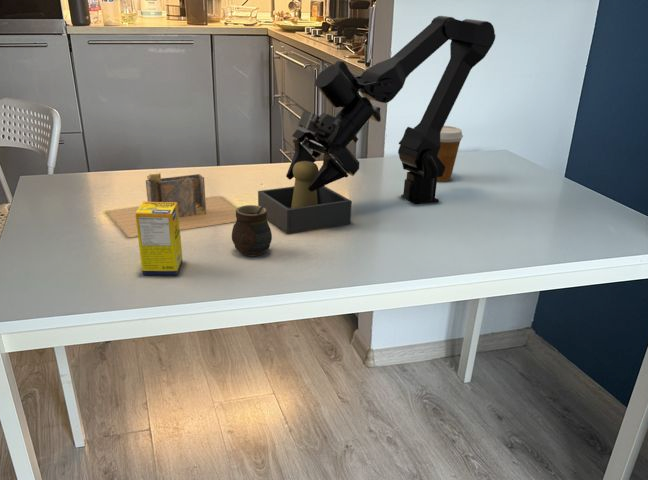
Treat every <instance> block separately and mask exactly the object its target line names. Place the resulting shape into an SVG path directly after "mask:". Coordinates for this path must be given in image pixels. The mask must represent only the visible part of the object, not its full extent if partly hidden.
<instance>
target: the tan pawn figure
mask: <svg viewBox="0 0 648 480" xmlns="http://www.w3.org/2000/svg"><path fill="white" fill-rule="evenodd" d="M319 170H320V169H319V166H318V165H317V164H316V162H314V163H313V162H309V161H301V162H297V163H296V164H295V165H294V166H293V175H294V177H293V178H294V185H293V186H294V192H293V199H292V206H291V208H297V207H304V206H311V205H318V199H317V190H314V191H312V192H311V191H309V190H308V186H309V185H310V183H311V181H312V180H313V178H314V177H315V176H316V174H317V173H318V171H319Z"/></svg>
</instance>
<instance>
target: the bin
mask: <svg viewBox="0 0 648 480" xmlns="http://www.w3.org/2000/svg"><path fill="white" fill-rule="evenodd" d="M293 192H294V185H293V186H286V187H278V188H269V189H262V190H258V191H257V206H261V207H262V205H264V204H265V206H264V208H265V209H266V210H267V217H266V219H267V221H268V222H270V223H271V224H273V226H275V227H277V228H278V229H280V230H281V231H282V232H284V233H285V234H287V235H289V234H295V233H301V232H307V231H313V230H319V229H326V228H331V227H338V226H345V225H348V224H351V223H352V222H351V220H352V219H351V218H352V205H353V204H352V200H351V199H349V198H347V197H345V196H343V195H341V194H340V193H338V192H336V191H335V190H333V189H331V188H328V187H327V186H326V185H325V186H323V187H321V188H319V189H317V199H318V205H311V206H304V207H297V208H291V206H292V199H293Z"/></svg>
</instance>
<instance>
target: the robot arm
mask: <svg viewBox="0 0 648 480" xmlns="http://www.w3.org/2000/svg"><path fill="white" fill-rule="evenodd" d="M496 36H497V35H496V33H495V26H494V25H493V24H492V22H489V21H486V20H481V19H480V20H478V19H473V18H471V19H470V18H465V19H463V20H460V19H457V18H455V17H453V16H447V15H446V16H444V15H437V16H436V17H433V19H432V20H431V22H430V23H429V24H428V25H427V26H425V28H424V29H422V30H421V31H420V32H419V33H418V34H417V35H416V36H414V38H412V39H411V40H410V41H409V42H407V44H405V45H404V46H403V47H402V48H401V49H399V51H397V52H396V53H395V54H394V55H393V56H391V57H389V58H388V59H385V60H383V61H379V62H377V63H375V64H374V65H372V66H371V67H368V68H367V69H366V70H364V71H363V73H361V74H360V75H356V76H354V75H353V73H352V72H351V70H350V69H349V67H348V65H347V64H346V63H345V61H342V60H338V59H337V61H336V62H335V63H334V64H332V65H329V66H328V67H326V68H325V69H324V70H321V71H320V73H318V75H317V77H316V79H315V82H314V85H315V87H316V89H318V91H320V92H321V94H322V96H323V97H324V98H325V99H326V100H327V101H328V103H329V104H330V105H331V107H333V108H340V109H339V110H338V111H337V112H336V114H335V115H334V116H333V115H330V114H328V113H325V112H322V113H321V114H320V115H318V114H316V113H313V112H310V111H308V110H305V109H303V111H302V113H301V116H300V118H299V121H298V123H297V126H299V128H297V129H296V130H294V133H293V134H292V135H291V138H292V139H293V140H292V143H293V145H294V153H293V157H292V160H291V162H290V165H289V166H288V170H287V173H286V175H285V178H287V179H288V180H289V181H290V180H292V179H293V178H295V177H294V175H293V166H294V165H295V164H296V163H297V162H301V161H309V162H313V163H316V162H317V159H316V158H319V157H320V156H321V155H323V159H322V165H321V167H320V168H319V169H318V170H319V171H318V173H317V174H316V176H315V177H314V178H313V180H312V181H311V183H310V185H309V186H308V190H309V191H311V192H312V191H314V190H317V189H319V188H321V187H323V186H325V187H326V186H327V185H329V184H331V183H333V182H336V181H338V180H342V179H343V178H348V177H349V175H350V176H351V177H354V176H355V175H356V174H357V172H358V171H359V170H360V161H359V160H358V159H357V158H356V156H355V155H354V154H353V152H351V150H350V149H349V148H348V146H349V145H350V144H351V143H354V144H356V143H357V142H358V141H359V137H357V135H358V134H359V133H360V131H361V130H362V129H363V128H364V127H365V126H366V124H367V123H368V122H369V121H370V120H372V121H375V122H378V123H380V122H381V120H382V117H381V107H379V106H376V105H373V103H372V102H371V101H370V100H372V101H375V102H379V103H383V104H387V103H390V102H391V101H393V100H394V98H395V97H396V96H397V95H398V94H399V92H401V90H402V89H403V88H404V85H405V82H406V79H408V77H409V75H410V74H411V73H413V72H414V71H415V70H416V69H417V68H419V66H420V65H421V64H423V63H424V62H425V61H426V60H427V59H428V58H430V57H431V56H432V55H433V54H434V53H435V52H436V51H437V50H439V49H440V48H441V47H442V46H443V45H445V44H446V42H448V41H450V44H449V45H450V47H449V50H450V51H449V52H450V57H449V61H448V63H447V65H446V67H445V69H444V71H443V74H442V75H441V78H440V80H439V81H438V84H437V86H436V88H435V90H434V92H433V95H432V96H431V98H430V101H429V102H428V105H427V107H426V109H425V110H424V113H423V115H422V118H421V119H420V121H419V123H418V124H417V125H415V126H414V127H411V126H407V127H406V129H405V130H404V133H403V135H402V138H401V139H400V141H398V145H399V147H398V150H397V154H398V157H399V158H398V159H399V160H400V162H401V164H402V169H403V170H405V171H406V178H405V179H404V182H403V183H404V184H403V193H402V194H401V195H400V197H401V198H402V199H404V200H405V201H407V202H409V203H411V204H413V205H415V206H416V205H425V204H434V203H439V201H440V200H439V199H438V198H436V193H437V185H438V181H437V177H442V175H443V173H444V170H445V166H444V165H443V163H442V162H441V161H440V159H439V158H438V157H437V156H438V153H439V150H440V133H441V130H442V128H443V126H445V124H446V122H447V120H448V119H449V118H448V117H449V116H450V113H451V112H452V109H453V107H454V106H455V104H456V102H457V99H458V97H459V95H460V93H461V91H462V89H463V87H464V85H465V83H466V81H467V79H468V77H469V75H470V72H471V70H472V69H473V68H474V67H475V66H476V65H477V64H478V63H480V62H481V61H482V60H483V59H485V58H486V56H487V55H488V53H489V51H490V50H491V48H492V47H493V45H494V42H495V40H496ZM361 95H362V96H361Z"/></svg>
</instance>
